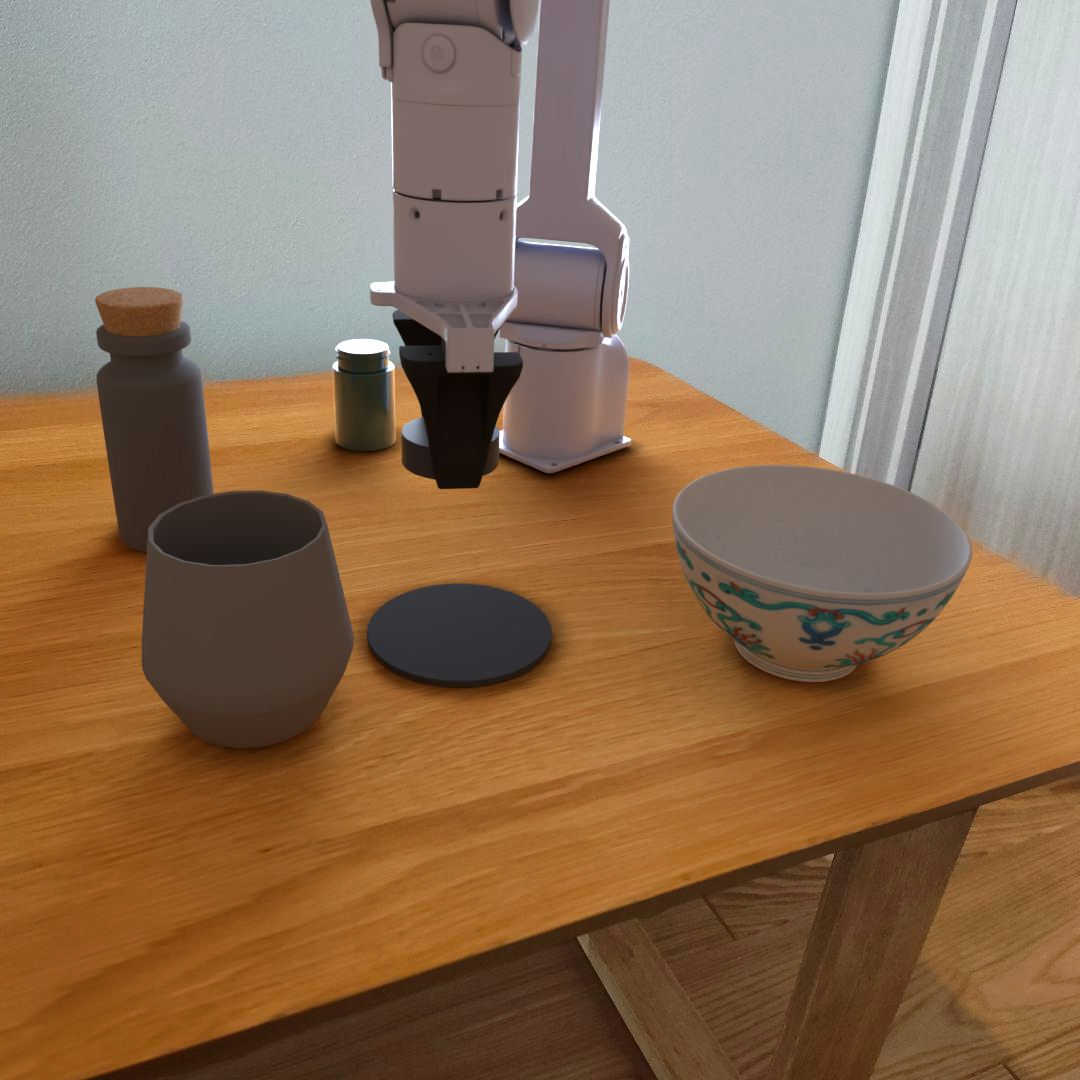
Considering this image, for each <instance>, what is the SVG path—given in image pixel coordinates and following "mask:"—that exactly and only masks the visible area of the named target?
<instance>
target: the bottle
mask: <svg viewBox="0 0 1080 1080" xmlns="http://www.w3.org/2000/svg"><path fill="white" fill-rule="evenodd" d="M94 299H95V300H94V302H95V305H96V307H97V310H98V311H97V312H98V313H99V317H100V319H101V322H102V324H101V325H100V326H98V328H96V331H95V332H96V341H97V347H98V348H99V349H100V350H101V351H104V352H105V353H107V354H109V357H110V361H108V362H107V363H105V364H103V365H102V367H101V368H100V369H99V370H98V372H97V373H96V386H97V387H96V388H97V394H98V402H99V409H100V417H101V424H102V430H103V437H104V438H103V439H104V444H105V449H106V450H105V451H106V456H107V463H108V471H109V477H110V483H111V489H112V497H113V503H114V509H115V516H116V523H117V529H118V532H119V533H118V534H119V538H120V542H122V543H123V544H124V546H126V547H128V548H130V549H131V550H134V551H138V552H142V553H147V540H148V528H149V527H150V525H151V524H152V523H153V522H154V520H155V519H156V518H157V517H158V516H159V515H160V514H161V513H163V512H165V511H167V510H168V509H170V508H172V507H174V506H175V505H177V504H179V503H182V502H185V501H188V500H191V499H195V498H198V497H201V496H204V495H210V494H215V493H214V483H213V474H212V472H213V471H212V463H211V454H210V443H209V433H208V424H207V414H206V413H207V412H206V404H205V395H204V385H203V379H202V372H201V368H200V367H199V366H198V365H197V364H196V362H194V361H193V360H191V359H189V358H187V357H185V356H184V353H183V349H185V348H187V347H189V346H190V345H191V342H192V333H191V327H190V325H189V324H188V323H187V322H186V321H183V320H182V314H183V313H182V312H183V305H184V295H183V294H182V293H181V292H180V291H177V290H175V289H171V288H165V287H155V286H135V287H133V286H132V287H124V288H117V289H111V290H107V291H105V292H102V293H99V294H98V295H96V297H95V298H94Z"/></svg>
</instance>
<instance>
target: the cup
mask: <svg viewBox="0 0 1080 1080" xmlns="http://www.w3.org/2000/svg"><path fill="white" fill-rule="evenodd" d="M327 522H328V521H327V520H326V516H325V514H324V511H323V510H322V509H320V508H319V507H318V506H316V505H315V504H313V503H312V502H311V501H309V500H306V499H303V498H301V497H298V496H295V495H292V494H289V493H283V492H276V491H268V490H230V491H223V492H218V493H214V494H210V495H204V496H201V497H198V498H195V499H191V500H188V501H185V502H182V503H179V504H177V505H175V506H174V507H172V508H170V509H168V510H167V511H165V512H163V513H161V514H160V515H159V516H158V517H157V518H156V519H155V520H154V522H153V523H152V524H151V525H150V527H149V528H148V540H147V552H146V557H145V559H146V560H145V576H144V591H143V592H144V593H143V595H144V596H143V608H142V609H143V612H142V627H141V628H142V629H141V669H142V672H143V674H144V677H145V679H146V680H147V682H148V684H150V686H151V687H152V688H153V690H154V691H155V692H156V693H157V695H158V696H159V697H160V699H161V700H162V701H163V703H164V704H165V705H166V706H167V707H168V708H169V709H170V710H171V711H172V712H173V714H174V715H175V716H176V717H177V718H178V719H179V720H180V721H181V723H182V724H183V725H184V726H185V727H186V728H187V729H188V730H189V731H190V732H191V733H192V734H193V736H195V737H198V739H199V738H200V739H202V740H204V741H205V742H207V743H210V744H211V745H215V746H220V747H226V748H231V749H236V750H238V749H239V750H240V749H241V750H242V749H260V748H261V749H262V748H265V747H269V746H272V745H277V744H281V743H283V742H286V741H288V740H290V739H292V738H294V737H296V736H297V735H299V734H301V733H303V732H305V731H307V730H308V729H309V728H310V727H311V726H312V725H313V724H314V723H315V722H316V721H317V720H318V719H319V718H320V717H321V715H322V714H323V712H324V711H325V709H326V707H327V705H328V704H329V702H330V700H331V698H332V696H333V695H334V693H335V691H336V690H337V687H338V686H339V684H340V682H341V680H342V679H343V676H344V675H345V672H346V671H347V667H348V664H349V662H350V658H351V656H352V653H353V649H354V643H355V642H354V641H355V636H354V629H353V626H352V622H351V618H350V614H349V608H348V606H347V605H348V604H347V600H346V596H345V593H344V592H345V591H344V588H343V584H342V581H341V576H340V572H339V567H338V563H337V559H336V556H335V555H336V554H335V551H334V546H333V543H332V538H331V535H330V530H329V525H328V523H327Z"/></svg>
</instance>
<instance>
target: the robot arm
mask: <svg viewBox="0 0 1080 1080" xmlns="http://www.w3.org/2000/svg"><path fill="white" fill-rule="evenodd" d="M369 2H370V7H371V12H372V15H373V19H374V21H375V25H376V31H377V38H378V40H377V41H378V63H379V64H378V66H379V68H380V70H381V77H382V80H386V81H388V82H389V83H390V96H391V98H390V99H391V103H390V104H391V106H390V107H391V159H392V167H391V168H392V169H391V170H392V213H393V215H392V219H393V221H392V222H393V224H392V225H393V226H392V227H393V270H394V271H393V275H394V277H393V279H394V280H393V281H375V282H371V283H370V284H369V299H370V303H371V305H373V306H376V307H392V308H395V309H396V310H394V311H393V312H392V315H391V316H392V322H393V325H394V326H395V329H396V330H397V332H398V334H399V336H400V338H401V340H402V342H403V344H404V345H399V347H398V355H399V361H400V365H401V368H402V371H403V372H404V374H405V376H406V378H407V381H408V383H409V384H410V386H411V388H412V390H413V392H414V393H415V397H416V399H417V401H418V403H419V407H420V413H421V417H424V421H425V427H426V433H427V439H428V446H429V452H430V458H431V463H432V468H433V473H434V477H435V484H436V486H437V488H438V489H439V490H462V489H465V490H467V489H468V490H469V489H478V488H480V485H481V482H482V480H483V477H484V476H483V474H484V470H485V467H486V463H487V458H488V454H489V450H490V446H491V441H492V437H493V433H494V430H495V426H496V427H497V423H498V420H499V417H500V415H501V411H502V409H503V412H502V413H503V415H502V430H499V432H500V438H499V439H500V442H499V454H501V455H504V456H506V457H508V458H510V459H512V460H515V461H517V462H519V463H522V464H524V465H526V466H529V467H532V468H533V469H536V470H538V471H540V472H542V473H544V474H554V473H555V474H556V473H557V472H561V471H563V470H566V469H569V468H571V467H575V466H577V465H580V464H584V463H586V462H589V461H592V460H595V459H597V458H599V457H602V456H604V455H608V454H610V453H614V452H616V451H619V450H623V449H625V448H627V447H630V446H631V445H632V439H631V437H627V436H625V426H626V425H625V424H626V412H627V401H628V390H629V379H630V360H629V356H628V355H629V354H628V352H627V350H626V347H625V344H624V343H623V341H622V340H621V338H620V337H619V335H617V333H619V331H621V329H622V327H623V323H624V319H625V315H626V308H627V303H628V302H627V301H628V295H629V294H628V293H629V281H630V262H629V261H630V260H629V248H630V237H629V235H628V232H627V231H628V230H627V228H626V226H625V224H624V223H623V222H622V221H620V219H618V218H617V217H616V216H615V215H614V214H613V213H612V212H611V211H610V210H609V209H608V208H607V207H606V206H604V205H603V204H602V203H601V202H600V200H598V199H597V197H596V196H595V190H596V177H597V167H598V165H597V164H598V153H599V140H600V139H599V138H600V129H601V128H600V127H601V113H602V105H603V104H602V102H603V89H604V76H605V64H606V52H607V39H608V26H609V17H610V16H609V14H610V3H611V0H369ZM538 13H539V14H538ZM537 18H538V31H537V48H536V49H537V50H536V64H535V65H536V66H535V83H534V99H533V100H534V101H533V116H532V134H531V136H532V137H531V151H530V152H531V153H530V166H529V167H530V169H529V170H530V171H529V185H528V187H529V188H528V196H526V197H525V198H523V199H522V200H521V201H519V202H518V195H517V193H518V174H519V173H518V172H519V146H520V145H519V141H520V117H521V115H520V114H521V111H520V110H521V90H522V89H521V86H522V62H523V61H522V58H523V57H522V56H523V48H522V46H524V45H527V44H528V43H529V42H530V40H531V38H532V37H533V35H534V31H535V27H536V22H537ZM521 239H533V240H543V241H554V242H555V241H556V242H557V241H558V242H568V243H578V244H586V245H589V246H593V247H587V246H577V245H566V244H553V243H544V242H543V243H542V242H531V241H522V240H521ZM520 240H521V241H520ZM498 333H499V338H500V339H505V351H497V352H496V351H495V339H496V337H497V335H498Z"/></svg>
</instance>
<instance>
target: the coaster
mask: <svg viewBox="0 0 1080 1080" xmlns="http://www.w3.org/2000/svg"><path fill="white" fill-rule="evenodd" d="M366 639H367V641H366V642H367V646H368V648H369V650H370V653H371V654H372V656H373V657H374V658H375V659H376V661H378V663H380V664H381V665H382V666H383V667H384V668H386V669H387V670H389V671H391V672H392V673H394V674H395V675H398V676H400V677H402V678H405V679H408V680H411V681H413V682H416V683H421V684H424V685H428V686H429V685H430V686H437V687H444V688H476V687H484V686H491V685H495V684H499V683H503V682H506V681H509V680H512V679H515V678H517V677H520V676H522V675H524V674H525V673H527V672H529V671H531V670H533V669H534V668H535V667H536V666H538V665H539V664H540V663H541V662H542V661H543V660H544V658H546V656H547V654H548V653H549V651H550V648H551V646H552V639H553V631H552V625H551V623H550V619H549V618H548V617H547V615H546V613H545V612H544V611H543V610H542V609H541V608H540V607H539V606H537V605H536V604H535V603H534V602H532V601H531V600H529V599H527V598H526V597H523V596H521V595H519V594H517V593H514V592H512V591H509V590H506V589H503V588H499V587H495V586H490V585H483V584H477V583H475V584H474V583H442V584H433V585H428V586H423V587H422V586H421V587H420V588H415V589H411V590H408V591H406V592H404V593H403V592H402V593H401V594H399V595H397V596H394V597H393V598H391V599H389V600H388V601H386V602H384V603H383V604H382V605H381V606H379V608H377V610H376V611H375V612H374V613H373V614H372V616H371V617H370V619H369V621H368V624H367V628H366Z"/></svg>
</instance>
